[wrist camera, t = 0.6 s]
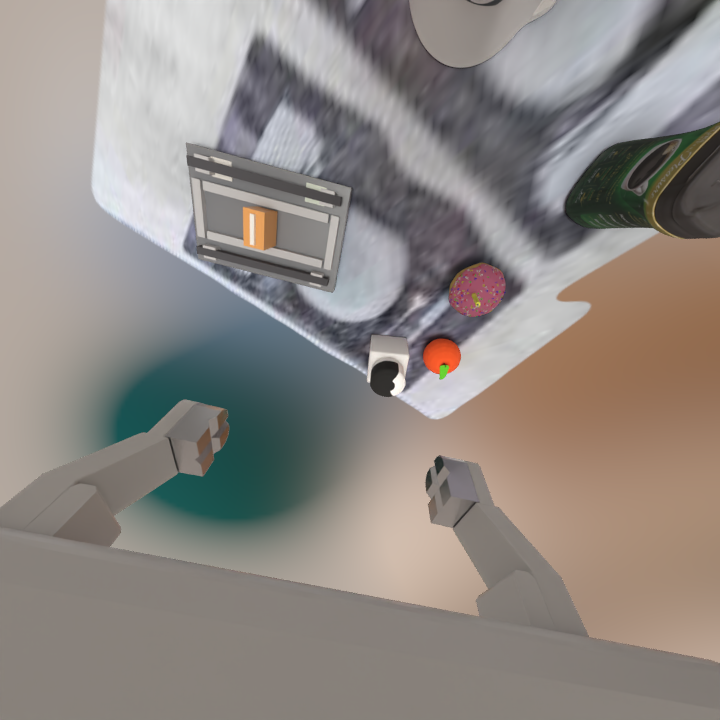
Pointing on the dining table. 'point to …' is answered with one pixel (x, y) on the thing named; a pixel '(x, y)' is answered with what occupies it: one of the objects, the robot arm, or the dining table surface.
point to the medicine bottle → (387, 364)
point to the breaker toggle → (259, 227)
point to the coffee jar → (654, 186)
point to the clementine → (441, 356)
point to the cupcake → (477, 290)
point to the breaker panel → (294, 217)
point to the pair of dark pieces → (271, 184)
